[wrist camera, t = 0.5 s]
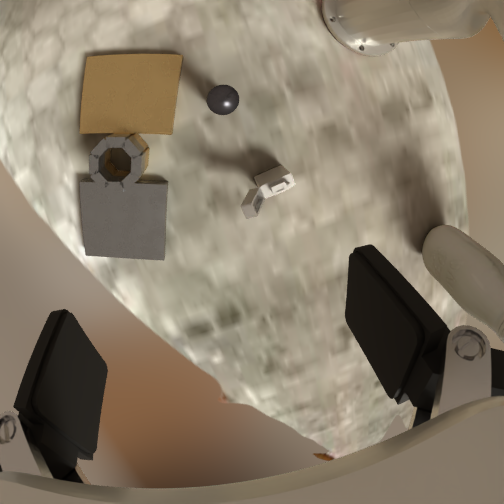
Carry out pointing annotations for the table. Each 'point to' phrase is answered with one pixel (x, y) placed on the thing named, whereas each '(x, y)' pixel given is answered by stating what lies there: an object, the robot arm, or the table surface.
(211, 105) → the dark round-topped peg
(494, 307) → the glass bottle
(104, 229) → the hinge
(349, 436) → the table surface
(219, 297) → the table surface
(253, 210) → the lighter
